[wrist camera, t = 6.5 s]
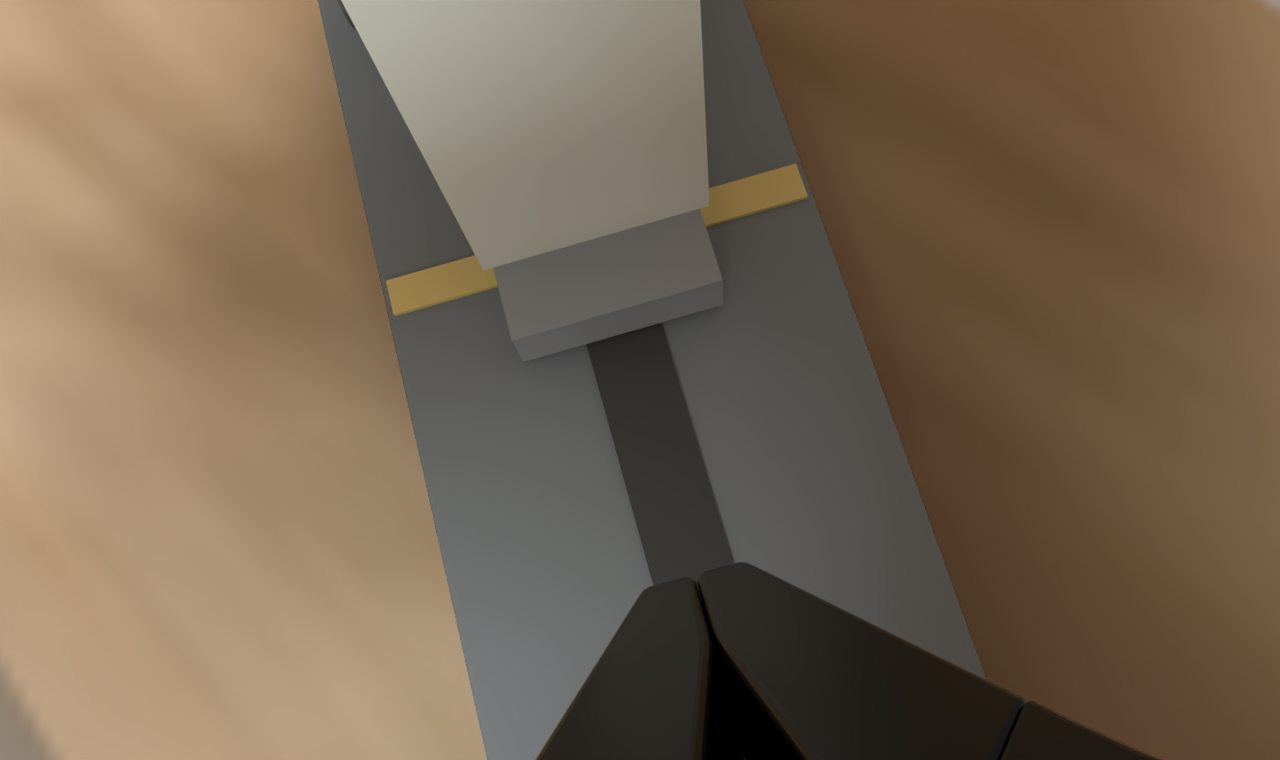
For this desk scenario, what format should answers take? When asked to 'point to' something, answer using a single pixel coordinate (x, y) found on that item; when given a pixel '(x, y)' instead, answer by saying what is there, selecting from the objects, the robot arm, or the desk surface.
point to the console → (644, 414)
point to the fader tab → (562, 152)
